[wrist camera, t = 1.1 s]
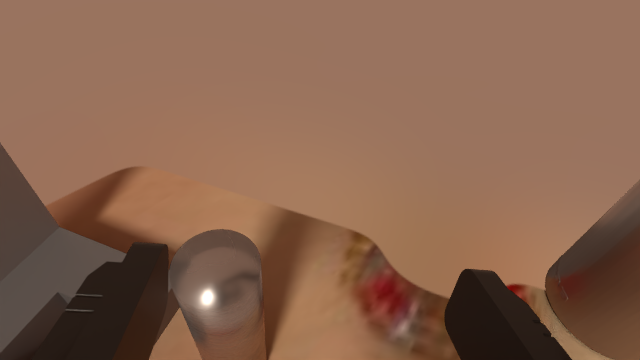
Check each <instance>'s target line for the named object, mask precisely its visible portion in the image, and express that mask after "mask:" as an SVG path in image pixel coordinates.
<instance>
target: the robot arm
mask: <svg viewBox="0 0 640 360" xmlns="http://www.w3.org/2000/svg"><path fill="white" fill-rule="evenodd" d="M545 288H546V293H547V297H548V300H549V302H550V304H551V307H552V309H553V310H554V312H555V313H556V315H557V317H558V318H559V320H560V321H561V322H562V323H563V324H564V326H565V327H566V328H567V329H568V330H569V331H570V332H571V333H572V334H573V335H574V336H575V337H576V338H577V339H579V340H580V341H581V342H583V343H584V344H585V345H587V346H588V347H590V348H591V349H592V350H594V351H596V352H598V353H600V354H602V355H604V356H606V357H608V358H611V359H614V360H640V180H639V181H638V182H637V183H636V184H635V185H634V186H633V187H632V188H631V189H630V190H629V191H628V192H627V193H626V194H625V195H624V196H623V197H622V198H621V199H620V200H619V201H618V202H617V203H616V204H614V206H612V208H610V209H609V210H608V211H607V212H606V214H604V215H603V216H602V217H601V218H600V219H599V220H598V221H597V222H596V223H595V224H594V225H593V226H592V227H591V228H590V229H589V230H588V231H587V232H586V233H585V234H584V235H583V236H582V237H581V238H580V239H579V240H578V241H577V242H576V243H575V244H574V245H573V246H572V247H571V248H570V249H569V250H567V251H566V253H564V254H563V255H562V256H561V257H560V258H559V259H558V260H557V261H556V262H555V263H554V264H553V265H552V267H551V268H550V269H549V270H548V273H547V275H546V282H545ZM167 300H168V246H167V245H166V244H155V243H142V242H134V243H133V244H132V246H131V247H130V249H129V251H128V253H127V254H126V256H125V258H124V260H123V261H122V262H109V261H107V262H106V263H104V264H103V265H101V266H100V267H99V268H97V269H96V270H95V271H93V272H92V273H90V274H89V275H88V276H87V277H86V279H85V280H84V282H83V283H82V285H81V286H80V288H79V289H78V291H77V292H76V295H75V297H73V298H72V299H71V301H70V302H69V304H68V305H67V307H66V308H65V312H63V313H62V314H61V316H60V317H59V319H58V320H57V322H56V323H55V325H54V326H53V328H52V329H51V331H50V332H49V334H48V335H47V337H46V338H45V339H44V341H43V342H42V344H41V345H40V347H39V348H38V350H37V351H36V353H35V354H34V356H33V357H32V359H31V360H149V357H150V354H151V352H152V349H153V346H154V343H155V340H156V337H157V335H158V332H159V329H160V326H161V323H162V320H163V318H164V314H165V311H166V306H167ZM540 321H541V320H540V319H539V318H538V316H537V315H536V314H535V313H534V311H533V310H532V309H531V308H530V306H529V305H528V304H527V303H525V302H524V301H523V300H522V299H521V298H519V297H518V296H517V295H516V294H514V293H513V292H512V291H511V290H509V289H508V288H507V287H506V286H505V284H504V283H503V282H502V280H501V279H500V278H499V277H498V275H497V274H496V273H495V272H493V271H488V270H475V269H465V270H463V271H462V272H461V274H460V276H459V278H458V281H457V283H456V286H455V288H454V290H453V293H452V295H451V297H450V300H449V302H448V304H447V307H446V309H445V326H446V330H447V332H448V334H449V336H450V338H451V340H452V342H453V344H454V346H455V348H456V350H457V353H458V355H459V357H460V359H461V360H572V359H571V358H570V357H569V355H568V354H567V353H566V352H565V350H564V349H563V348H562V347H561V345H560V344H559V343H558V342H557V340H556V339H555V338H554V337H551V333H550V331H549V330H548V329H547V328H546V326H545V325H544V324H541V322H540Z"/></svg>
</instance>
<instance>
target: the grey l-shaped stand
mask: <svg viewBox="0 0 640 360" xmlns="http://www.w3.org/2000/svg"><path fill="white" fill-rule="evenodd" d="M125 256H126V253H124V252H121V251H119V250H116V249H114V248H111V247H109V246H106V245H104V244H101V243H99V242H96V241H94V240H91V239H89V238H86V237H84V236H81V235H79V234H76V233H74V232H71V231H69V230H66V229H63V228H61V227H59V225H58V224H57V223H56V221H55V220H54V218H53V217H52V216H51V214H50V213H49V211H48V210H47V208H46V207H45V206H44V204H43V203H42V201H41V200H40V199H39V197H38V196H37V194H36V193H35V192H34V190H33V189H32V187H31V186H30V185H29V183H28V182H27V180H26V179H25V177H24V176H23V174H22V173H21V172H20V170H19V169H18V167H17V166H16V165H15V163H14V162H13V160H12V159H11V157H10V156H9V155H8V153H7V152H6V150H5V149H4V148H3V146H2V145H1V143H0V360H31V359H32V357H33V356H34V354H35V353H36V351H37V350H38V348H39V347H40V345H41V344H42V342H43V341H44V339H45V338H46V337H47V335H48V334H49V332H50V331H51V329H52V328H53V326H54V325H55V323H56V322H57V320H58V319H59V317H60V316H61V314H62V313H63V312H65V308H66V307H67V305H68V304H69V302H70V301H71V299H72V298H73V297H75V295H76V292H77V291H78V289H79V288H80V286H81V285H82V283H83V282H84V280H85V279H86V277H87V276H88V275H89V274H90V273H92V272H93V271H95V270H96V269H97V268H99V267H100V266H101V265H103V264H104V263H106V262H107V261H109V262H122V261H123V260H124V258H125ZM179 307H180V306H179V303H178V301H177V299H176V296H175V294H174V292H173V289H172V287H171V284H170V280H169V270H168V300H167V306H166V311H165V314H164V318H163V320H162V323H161V326H160V329H159V332H158V335H157V337H156V340H155V343H156V341H157V340H158V338H159V337H160V335H161V334H162V332H163V331H164V329H165V328H166V326H167V325H168V323H169V322H170V320H171V319H172V317H173V316H174V314H175V313H176V311H177V310H178V308H179ZM155 343H154V344H155Z"/></svg>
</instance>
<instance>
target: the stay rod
mask: <svg viewBox="0 0 640 360" xmlns="http://www.w3.org/2000/svg"><path fill="white" fill-rule="evenodd" d="M169 280H170V284H171V287H172V289H173V292H174V294H175V296H176V299H177V301H178V303H179V306H180V308H181V311H182V313H183V315H184V318H185V320H186V322H187V325H188V327H189V329H190V332H191V334H192V336H193V339H194V341H195V343H196V346H197V348H198V350H199V353H200V355H201V358H202V360H267V357H266V340H265V323H264V306H263V289H262V272H261V259H260V254H259V251H258V249H257V247H256V246H255V244H254V243H253V242H252V241H251V240H250V239H249V238H248V237H246V236H244V235H243V234H241V233H238V232H235V231H232V230H224V229H219V230H210V231H206V232H203V233H200V234H198V235H196V236H194V237H192V238H191V239H189V240H188V241H187V242H185V243H184V244H183V245H182V246H181V247H180V248H179V249H178V251H177V252H176V254H175V255H174V257H173V259H172V261H171V264H170V269H169Z"/></svg>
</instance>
